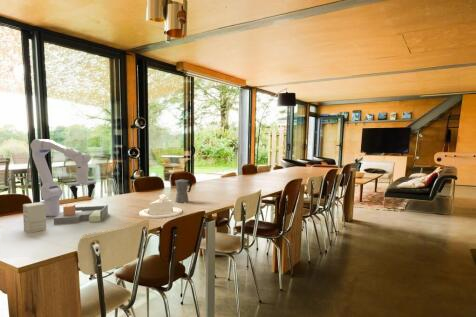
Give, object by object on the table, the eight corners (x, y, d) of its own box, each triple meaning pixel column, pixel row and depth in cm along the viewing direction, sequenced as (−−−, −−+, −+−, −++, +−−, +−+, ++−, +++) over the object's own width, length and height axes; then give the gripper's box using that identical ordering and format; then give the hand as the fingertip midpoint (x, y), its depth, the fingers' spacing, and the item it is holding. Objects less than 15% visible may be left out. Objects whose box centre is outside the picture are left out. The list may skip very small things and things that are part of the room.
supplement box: (41, 226, 142) (40, 201, 141) (46, 229, 137) (45, 203, 137) (23, 230, 136) (22, 204, 136) (28, 233, 132) (27, 206, 131)
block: (63, 215, 153) (63, 206, 153) (66, 213, 157) (66, 205, 157) (72, 214, 154) (72, 206, 154) (75, 212, 158) (75, 204, 158)
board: (53, 224, 147) (53, 213, 147) (64, 216, 162) (64, 206, 162) (102, 221, 153) (101, 211, 152) (107, 214, 168) (107, 204, 168)
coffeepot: (170, 202, 203) (170, 176, 202) (179, 199, 211) (178, 175, 210) (187, 204, 196) (187, 178, 195) (196, 201, 204) (195, 176, 203)
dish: (161, 207, 189) (161, 190, 188) (190, 211, 176) (190, 193, 175) (129, 214, 167) (129, 195, 167) (160, 221, 155) (160, 200, 154)
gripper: (71, 176, 155) (72, 200, 155) (98, 173, 166) (98, 197, 167) (66, 175, 159) (66, 199, 160) (92, 173, 171) (93, 195, 171)
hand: (82, 198), depth 164 cm, fingers open, 7 cm apart
